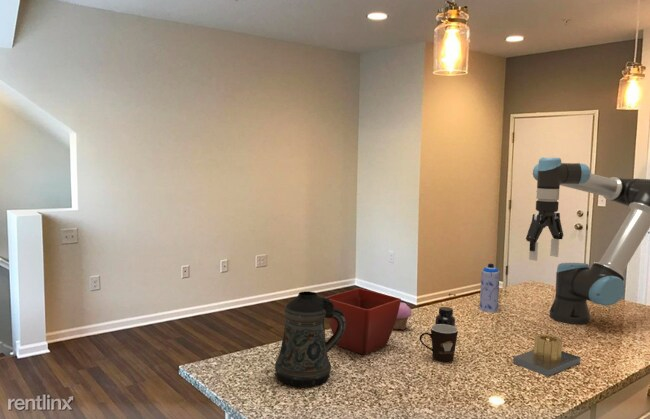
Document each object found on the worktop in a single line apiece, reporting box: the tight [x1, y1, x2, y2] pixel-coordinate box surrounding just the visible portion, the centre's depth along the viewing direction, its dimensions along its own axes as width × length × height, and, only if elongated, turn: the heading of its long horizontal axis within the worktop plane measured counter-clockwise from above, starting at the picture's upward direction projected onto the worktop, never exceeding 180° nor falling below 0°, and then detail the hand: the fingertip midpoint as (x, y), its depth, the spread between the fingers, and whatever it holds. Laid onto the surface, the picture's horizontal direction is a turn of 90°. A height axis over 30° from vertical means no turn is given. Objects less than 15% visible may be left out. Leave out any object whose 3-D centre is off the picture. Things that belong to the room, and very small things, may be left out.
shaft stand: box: [512, 349, 581, 377], centre depth 162 cm, size 18×12×6 cm, turn 125°
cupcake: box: [393, 302, 412, 331], centre depth 193 cm, size 9×9×10 cm
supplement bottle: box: [434, 306, 456, 327], centre depth 180 cm, size 7×7×12 cm
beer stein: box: [274, 291, 346, 389], centre depth 150 cm, size 16×19×25 cm
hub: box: [533, 333, 563, 362], centre depth 162 cm, size 8×8×6 cm
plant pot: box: [324, 288, 402, 355], centre depth 174 cm, size 19×19×17 cm
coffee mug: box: [419, 324, 459, 363], centre depth 165 cm, size 12×9×10 cm
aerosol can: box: [478, 263, 501, 313], centre depth 219 cm, size 8×8×20 cm
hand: (543, 258), depth 187 cm, fingers open, 13 cm apart
